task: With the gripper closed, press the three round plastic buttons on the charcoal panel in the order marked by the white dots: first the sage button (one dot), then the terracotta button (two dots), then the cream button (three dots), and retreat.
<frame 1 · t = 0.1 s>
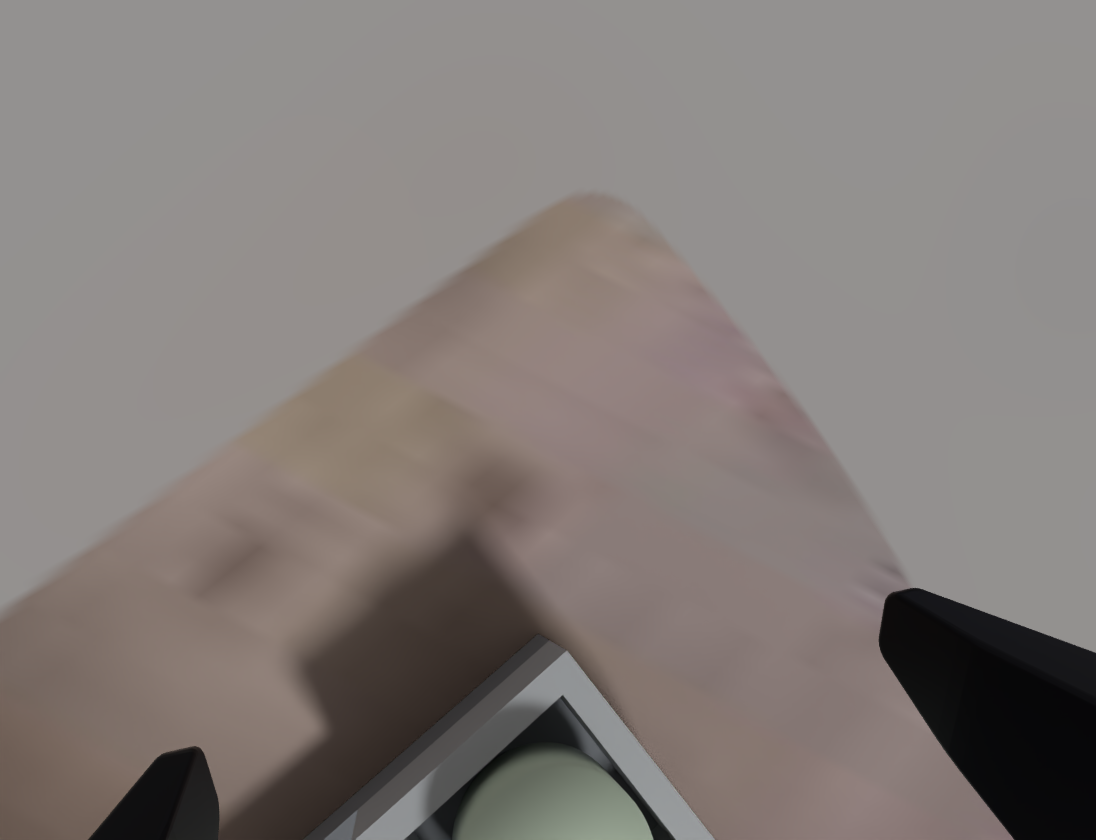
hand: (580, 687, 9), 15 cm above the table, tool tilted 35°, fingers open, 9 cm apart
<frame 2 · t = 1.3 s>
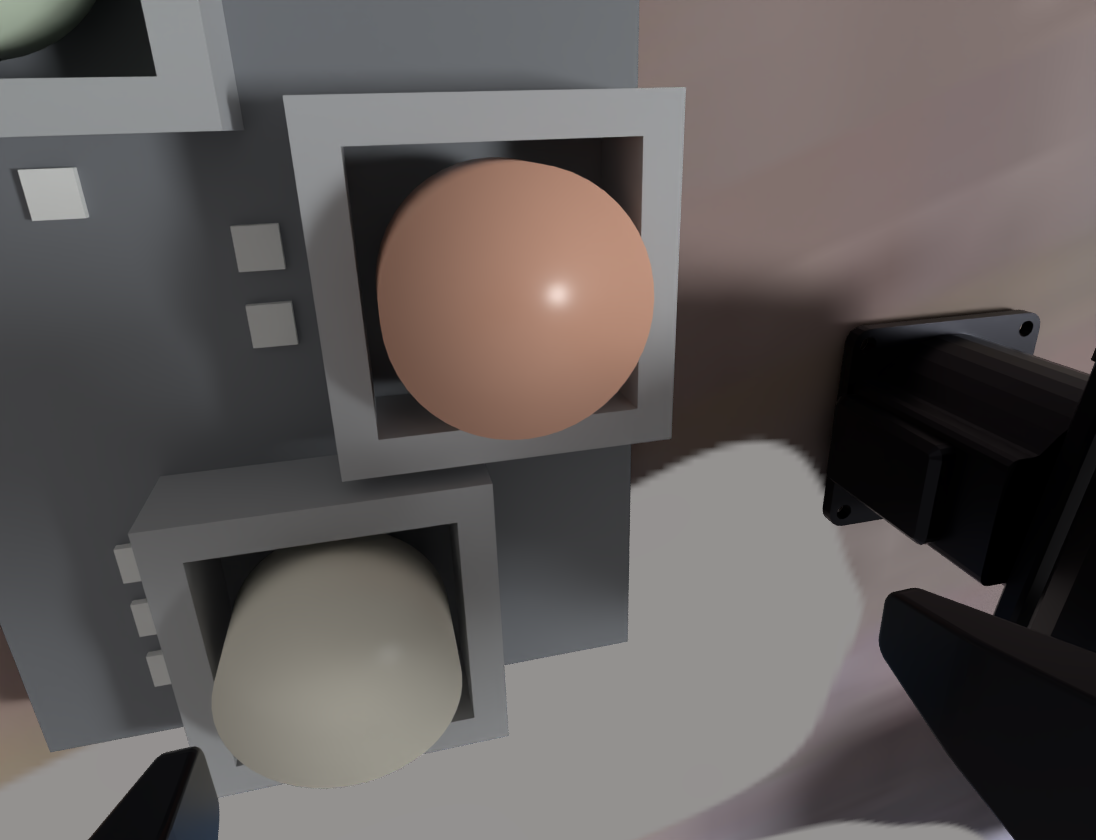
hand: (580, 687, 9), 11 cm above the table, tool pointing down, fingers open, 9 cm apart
cream button: (343, 655, 15), point 5 cm above the table, slide at 0.0 cm
button panel: (306, 288, 17), on the table
terracotta button: (508, 295, 13), point 5 cm above the table, slide at 0.0 cm
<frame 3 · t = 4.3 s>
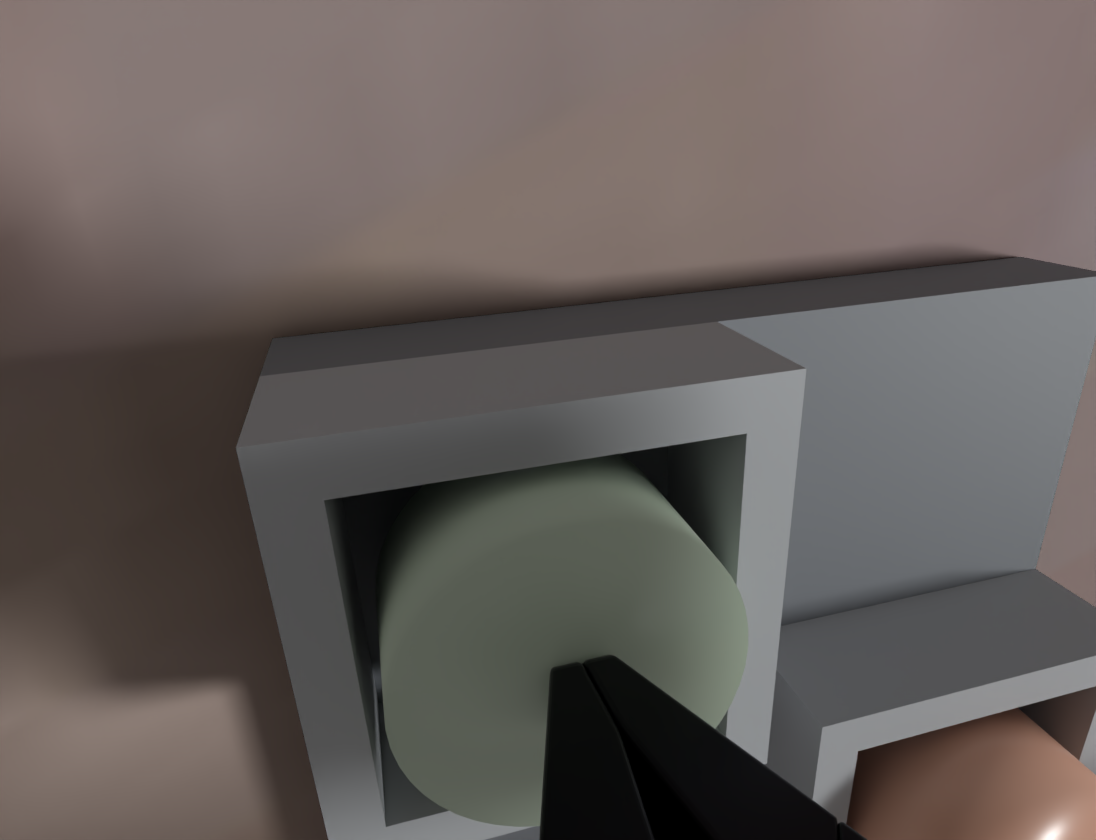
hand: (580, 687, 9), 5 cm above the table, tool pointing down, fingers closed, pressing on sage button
button panel: (677, 717, 18), on the table
sage button: (551, 624, 10), point 4 cm above the table, slide at 0.6 cm, touching gripper
terracotta button: (970, 830, 14), point 5 cm above the table, slide at 0.0 cm
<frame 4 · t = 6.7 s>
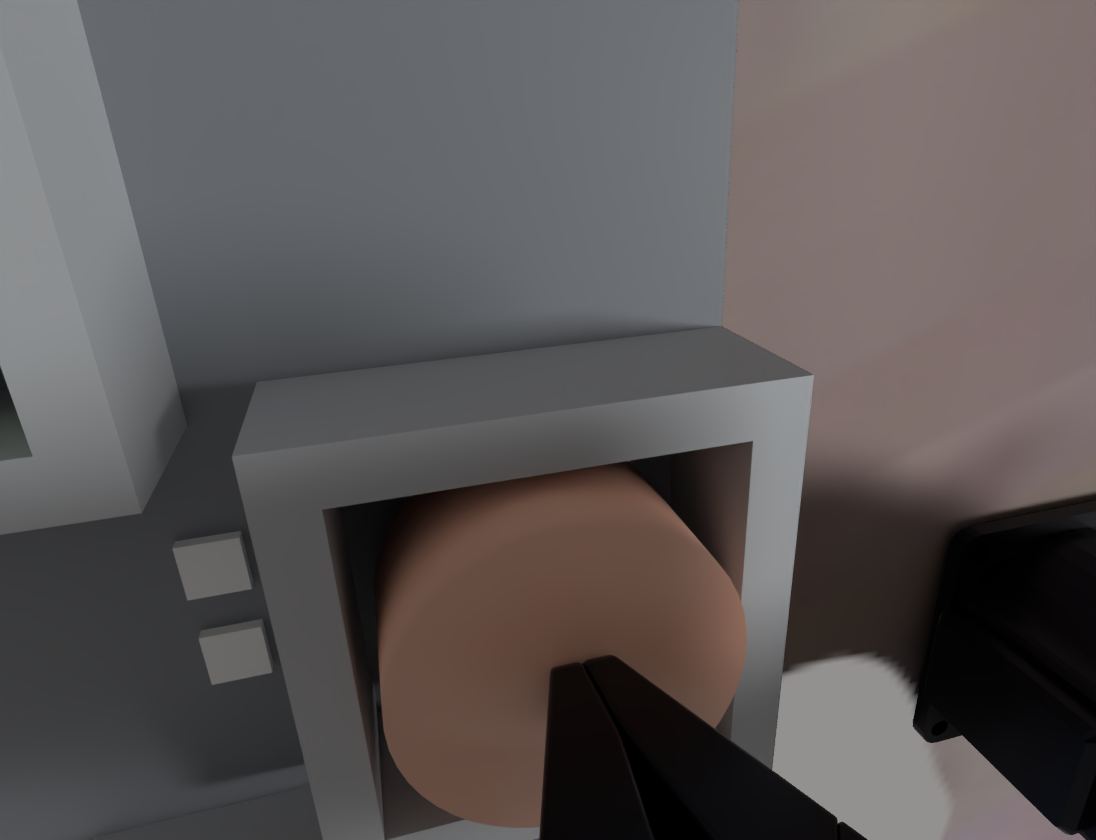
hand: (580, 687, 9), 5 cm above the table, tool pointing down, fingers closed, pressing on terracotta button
button panel: (283, 556, 13), on the table
terracotta button: (550, 625, 10), point 4 cm above the table, slide at 0.8 cm, touching gripper
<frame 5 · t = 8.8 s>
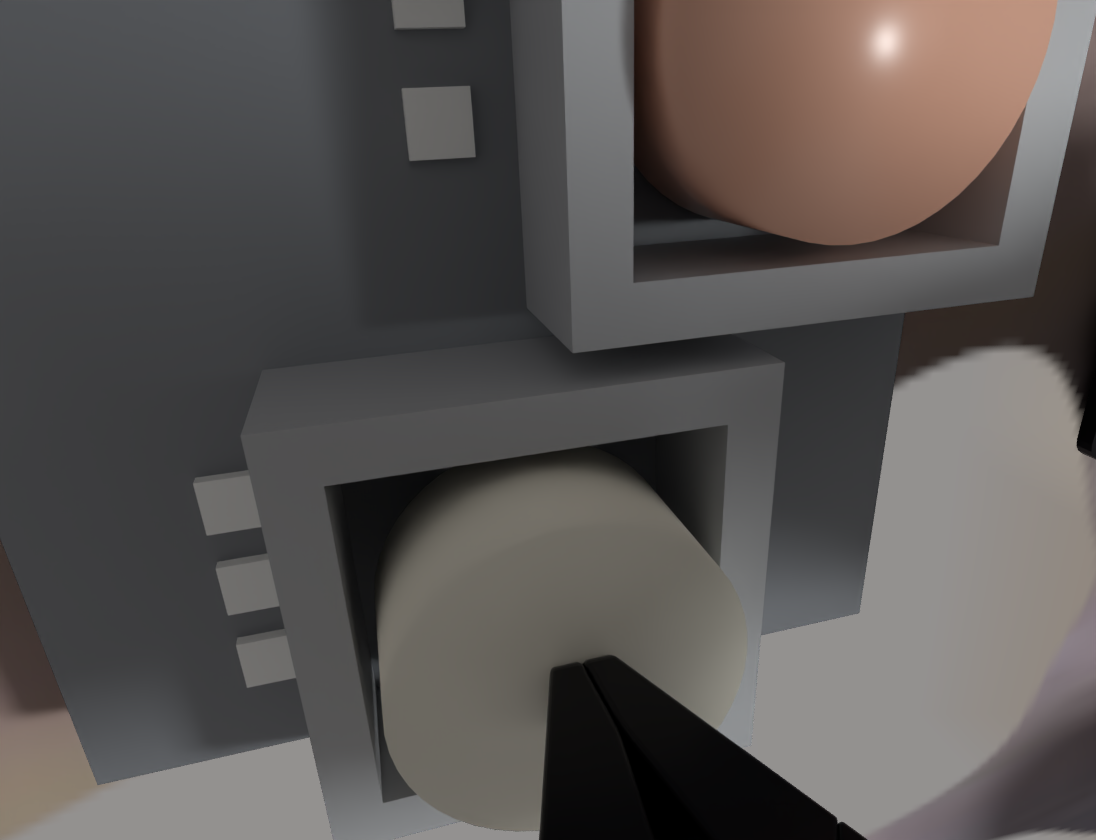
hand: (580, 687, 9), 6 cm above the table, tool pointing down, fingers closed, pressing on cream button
cream button: (550, 628, 10), point 5 cm above the table, slide at 0.1 cm, touching gripper
button panel: (458, 102, 12), on the table
terracotta button: (812, 37, 9), point 4 cm above the table, slide at 1.1 cm
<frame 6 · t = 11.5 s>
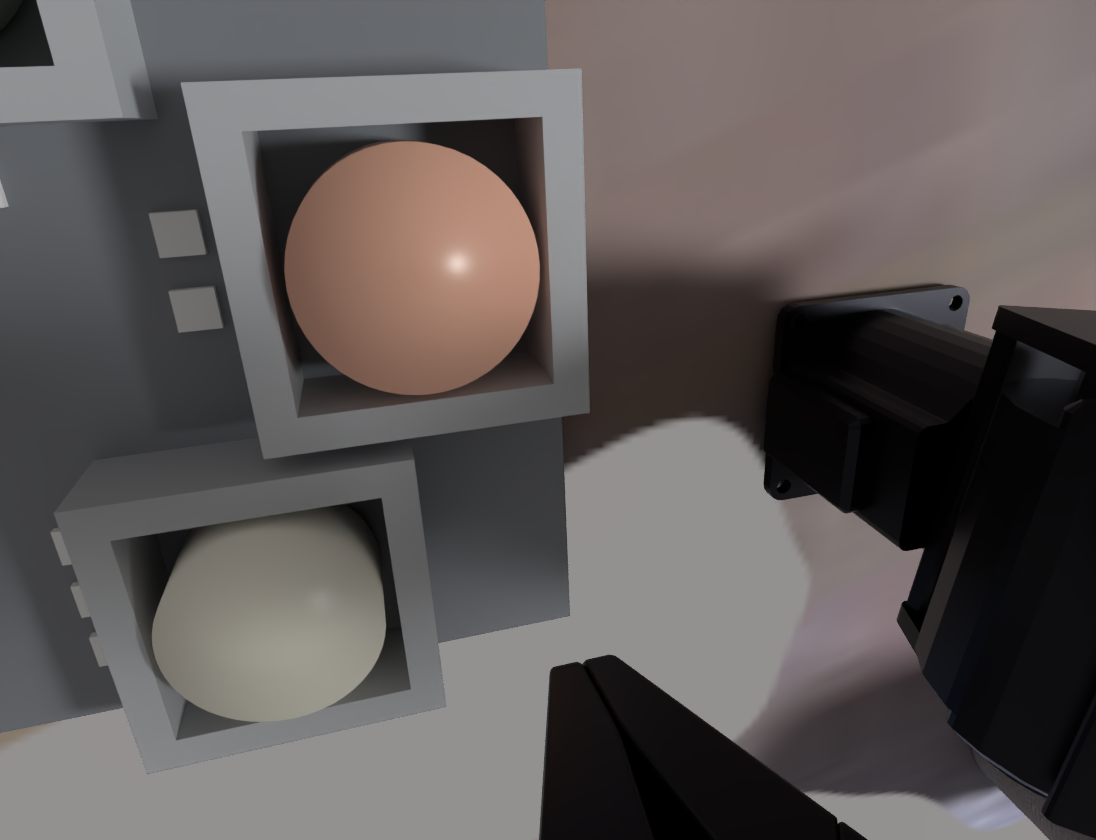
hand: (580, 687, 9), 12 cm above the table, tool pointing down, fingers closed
cream button: (278, 601, 17), point 4 cm above the table, slide at 1.0 cm
button panel: (236, 274, 17), on the table
terracotta button: (412, 265, 15), point 4 cm above the table, slide at 1.1 cm
pillar candle: (1054, 697, 33), on the table
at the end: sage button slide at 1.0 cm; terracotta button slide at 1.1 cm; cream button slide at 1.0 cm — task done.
